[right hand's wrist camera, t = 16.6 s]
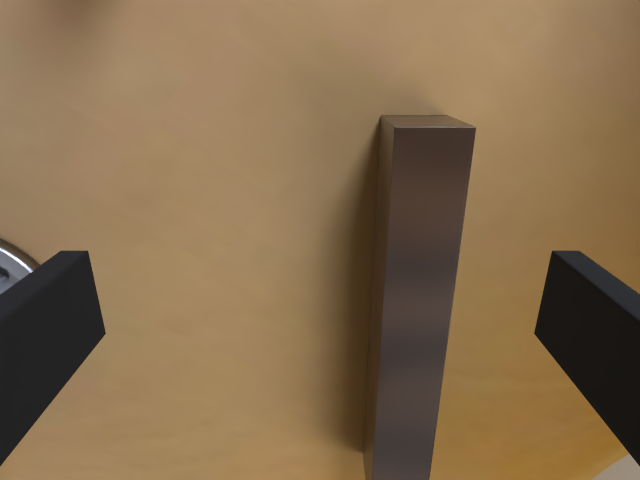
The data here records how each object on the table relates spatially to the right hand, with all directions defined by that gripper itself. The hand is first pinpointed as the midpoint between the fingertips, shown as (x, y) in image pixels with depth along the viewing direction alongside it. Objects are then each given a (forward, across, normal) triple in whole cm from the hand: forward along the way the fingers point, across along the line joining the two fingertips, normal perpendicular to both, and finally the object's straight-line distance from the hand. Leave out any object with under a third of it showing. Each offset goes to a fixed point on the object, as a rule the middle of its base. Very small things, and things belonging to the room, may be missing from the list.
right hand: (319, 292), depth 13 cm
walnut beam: (+23, +7, -14) cm, 28 cm away
